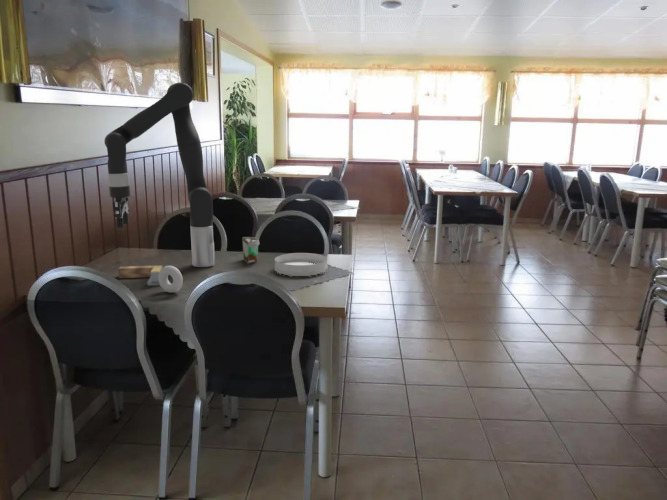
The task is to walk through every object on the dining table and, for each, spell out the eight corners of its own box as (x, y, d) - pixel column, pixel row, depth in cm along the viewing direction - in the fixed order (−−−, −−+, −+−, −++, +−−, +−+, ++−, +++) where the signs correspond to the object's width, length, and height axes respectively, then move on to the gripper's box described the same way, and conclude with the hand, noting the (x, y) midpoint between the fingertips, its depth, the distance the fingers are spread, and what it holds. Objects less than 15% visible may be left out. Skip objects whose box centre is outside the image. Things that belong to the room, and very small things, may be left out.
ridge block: (167, 279, 215) (166, 265, 214) (164, 285, 207) (163, 270, 206) (151, 279, 214) (150, 266, 213) (147, 285, 206) (146, 271, 205)
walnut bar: (162, 274, 222) (162, 265, 221) (161, 277, 219) (160, 267, 218) (121, 276, 220) (120, 266, 219) (119, 278, 217) (118, 268, 216)
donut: (185, 293, 198) (184, 266, 196) (179, 295, 195) (177, 268, 192) (163, 289, 202) (161, 263, 199) (157, 292, 199) (155, 265, 196)
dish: (312, 280, 216) (312, 267, 215) (264, 273, 225) (264, 261, 224) (336, 267, 235) (336, 255, 234) (290, 261, 244) (290, 250, 243)
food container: (263, 263, 239) (262, 241, 237) (249, 265, 237) (248, 242, 235) (256, 257, 250) (255, 235, 248) (242, 258, 248) (242, 236, 246)
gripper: (124, 186, 209) (128, 228, 212) (133, 182, 222) (137, 222, 226) (104, 187, 208) (108, 229, 212) (114, 183, 222) (118, 222, 225)
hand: (123, 225), depth 219 cm, fingers open, 8 cm apart
